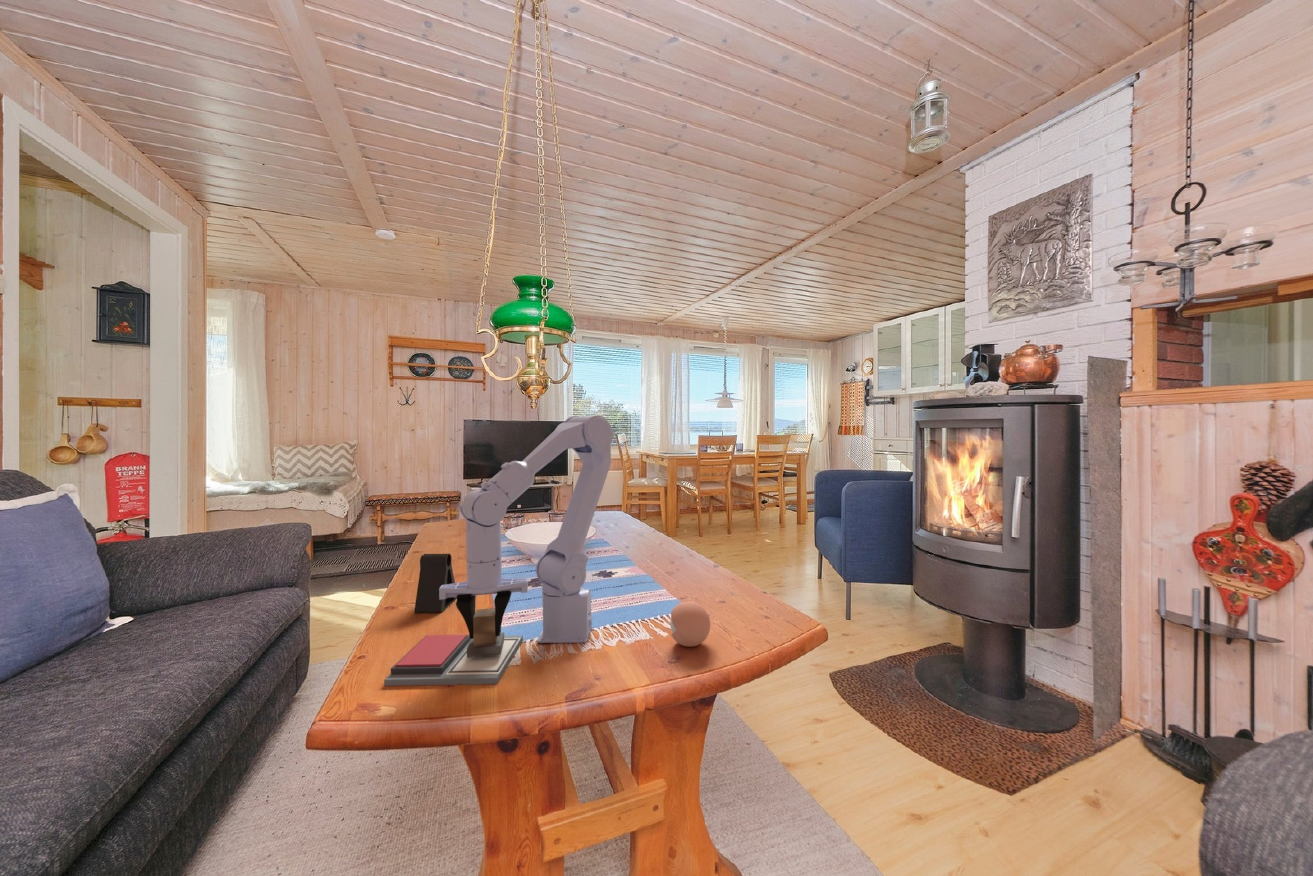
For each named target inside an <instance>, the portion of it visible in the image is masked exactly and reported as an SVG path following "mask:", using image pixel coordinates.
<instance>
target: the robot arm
mask: <svg viewBox="0 0 1313 876" xmlns="http://www.w3.org/2000/svg"><path fill="white" fill-rule="evenodd" d="M614 437H615V431H613V429H612V426H611V423H610V422H609V420H608V419H607V418H606V417H605V416H603V415H601V414H596V415H589V416H588V415H587V416H586V415H585V416H579V415H573V416H569V417H568V418H566V419H565V421H564V422H561V423H560V424H558V425H557V427H556V428H555V429H554V431H553V432H551V433H550V434H549V435H548V436H547V437H546V438H545V439H544V440H543V441H542V442H541V443H540V444H539V445H538V446H536V447H535V448H534V449H532V451H531V452H530V453H529V454H528V455H527V456H526V457H525V458H524V459H523V460H522V461H519V460H512V461H510V462H504V463H502V464H501V466H500V468H501V470H499V471H498V472H497V473H496V474H495V475H494V476H493V477H492V478H490V479H489V480H488V481H483V482H482V483H481V484H480V487H481V489H480V488H479V489H474V490H471V491H469V492H468V493H467V494H466V495H465V496H464V498H463V501H462V504H461V505H460V506H459V512H460V514H461V516H462V517H463V519H465V527H466V528H465V533H466V534H465V543H466V544H465V545H466V546H465V549H466V551H465V552H466V581H460V582H455V583H454V584H446V585H442V586H441V587H440V588H439V599H440V600H441V599H446V598H449V597H457V600H456V601H455V606H456V609H457V610H458V611H459V613H460V614H461V616H462V617H463V620H464V622H465V625H466V628H467V631H468V635H469V636H470V639H474V638H473V617H474V614H475V612H476V599H477V598H476V597H477V596H484V595H485V596H486V595H495V594H496V595H495V597H494V608H495V615H496V623H495V635H496V636H500V633H502V632H501V631H502V624H503V623H502V622H503V618H504V614H505V613H506V612H505V611H506V609H507V607H508V605H509V602H510V599H511V597H512V593H519V592H520V593H522V594H527V593H528V589H529V581H528V578H509V577H508V578H505V577H502V574H503V573H502V570H503V569H502V531H501V521H503V519H504V518H505V516H506V513H507V510H508V507H509V506H511V505H512V504H513V503H514V502H515V501H516V500H517V499H518V498H520V497H521V495H523V494H524V493H525V492H526V491H527V490H528V489H529V488H530V487H532V486H533V485H534V483H535V474H537V473H538V472H540V470H542V469H543V468H544V467H545V466H547V465H548V464H549V463H551V462H552V461H553V460H554V459H556V458H557V457H558V456H560V454H562V453H563V452H564V451H566V450H570V449H572V450H573V452H574V453H576V454H577V456H578V458H579V459H580V461H581V463H582V465H581V468H580V472H579V475H578V477H577V480H576V483H575V486H574V489H573V492H572V495H571V498H570V500H569V503H568V505H567V509H566V511H565V514H564V517H563V521H562V523H561V525H560V528H559V532H558V534H557V537H556V538H555V539H554V540H551V542H549V543H548V544H547V547H546V549H545V552H544V553H543V554H542V556H540V557H539V559H538V561H537V563H536V566H535V574H536V577H537V579H538V580H539V581H540V582H541V589H542V590H541V591H542V595H541V596H542V631H540V635H538V638H537V640H536V641H537V643H538V644H551V643H552V644H554V643H555V644H556V643H557V644H559V643H560V644H561V643H562V644H564V643H567V644H571V643H587V642H588V639H589V636H590V633H591V630H592V625H593V623H592V622H593V621H592V593H591V589H588V588H587V589H586V588H583V586H584V584H585V581H586V580H587V565H588V562H589V561H588V560H589V556H588V554H587V551H586V549H585V546H584V545H585V542H586V539H587V536H588V532H589V531H590V528H591V524H592V522H593V518H594V515H595V512H596V509H597V506H598V503H599V501H600V498H601V495H602V494H601V493H602V491H603V489H604V485H605V483H606V480H607V476H608V473H609V470H610V467H611V463H612V453H611V452H612V449H611V445H612V441H613V439H614Z"/></svg>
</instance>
